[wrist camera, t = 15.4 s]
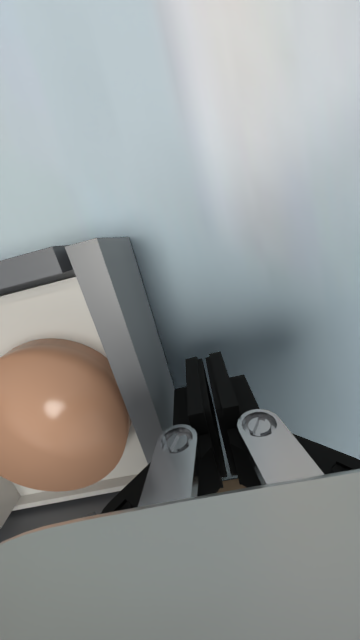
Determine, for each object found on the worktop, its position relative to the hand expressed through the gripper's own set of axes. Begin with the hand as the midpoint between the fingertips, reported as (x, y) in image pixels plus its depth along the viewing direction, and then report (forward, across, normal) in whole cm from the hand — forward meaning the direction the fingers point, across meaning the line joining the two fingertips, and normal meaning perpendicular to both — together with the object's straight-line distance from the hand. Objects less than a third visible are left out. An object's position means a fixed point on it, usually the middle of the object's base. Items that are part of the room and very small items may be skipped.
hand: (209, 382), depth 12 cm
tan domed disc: (+1, +8, 0) cm, 8 cm away
